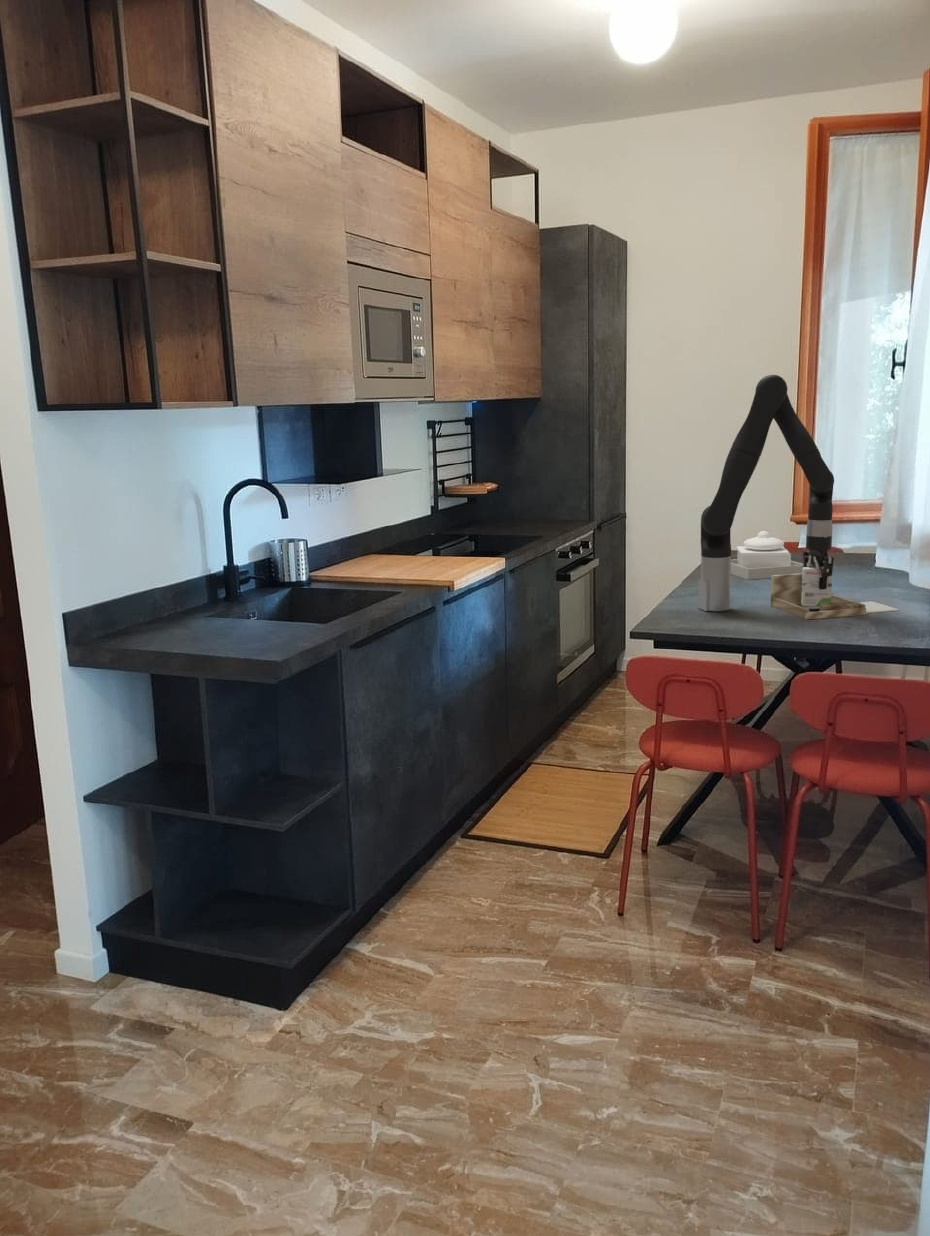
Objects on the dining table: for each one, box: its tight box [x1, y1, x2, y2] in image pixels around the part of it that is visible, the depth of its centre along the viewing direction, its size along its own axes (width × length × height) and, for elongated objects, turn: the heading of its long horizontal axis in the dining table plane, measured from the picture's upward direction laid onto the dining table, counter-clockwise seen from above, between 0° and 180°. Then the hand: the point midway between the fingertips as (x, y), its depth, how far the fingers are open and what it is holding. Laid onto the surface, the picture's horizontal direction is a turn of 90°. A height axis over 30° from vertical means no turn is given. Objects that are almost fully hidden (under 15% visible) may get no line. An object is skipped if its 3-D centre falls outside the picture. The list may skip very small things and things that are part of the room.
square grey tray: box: [731, 558, 803, 581], centre depth 383 cm, size 23×23×4 cm
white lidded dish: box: [735, 530, 792, 568], centre depth 381 cm, size 18×18×16 cm
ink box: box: [801, 567, 833, 607], centre depth 313 cm, size 9×5×12 cm, turn 77°
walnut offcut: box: [819, 604, 845, 611], centre depth 306 cm, size 7×2×2 cm, turn 98°
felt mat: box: [858, 600, 900, 615], centre depth 315 cm, size 12×14×1 cm
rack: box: [770, 573, 867, 620], centre depth 313 cm, size 20×22×10 cm
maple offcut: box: [846, 603, 859, 609], centre depth 307 cm, size 3×2×3 cm
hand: (816, 587), depth 313 cm, fingers closed on ink box, 6 cm apart
